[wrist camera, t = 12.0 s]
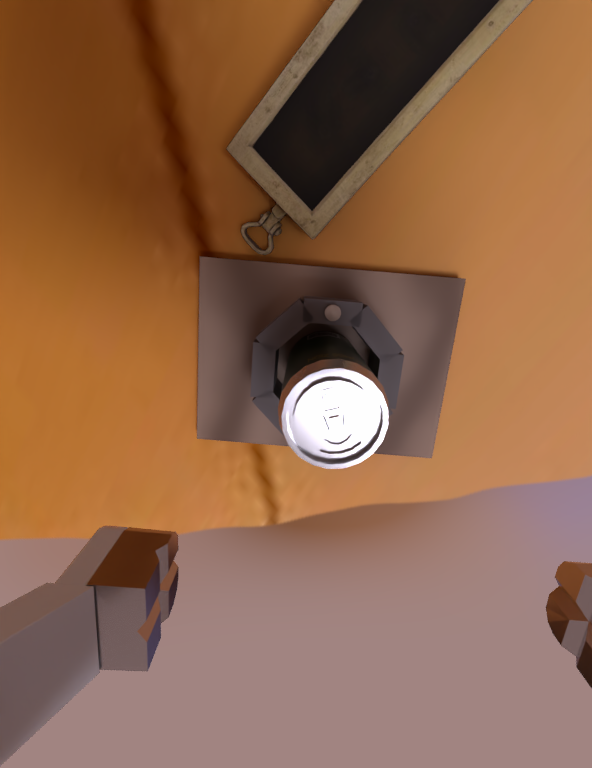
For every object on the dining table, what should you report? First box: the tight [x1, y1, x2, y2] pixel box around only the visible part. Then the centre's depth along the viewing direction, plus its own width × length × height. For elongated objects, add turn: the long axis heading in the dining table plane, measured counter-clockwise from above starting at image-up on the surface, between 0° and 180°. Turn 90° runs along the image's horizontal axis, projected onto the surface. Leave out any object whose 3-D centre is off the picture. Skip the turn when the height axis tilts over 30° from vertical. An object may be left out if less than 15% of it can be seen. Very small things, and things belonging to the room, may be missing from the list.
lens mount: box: [197, 257, 466, 458], centre depth 28 cm, size 19×14×6 cm
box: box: [226, 0, 533, 255], centre depth 24 cm, size 8×22×5 cm, turn 137°
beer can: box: [278, 331, 389, 469], centre depth 23 cm, size 5×5×12 cm
